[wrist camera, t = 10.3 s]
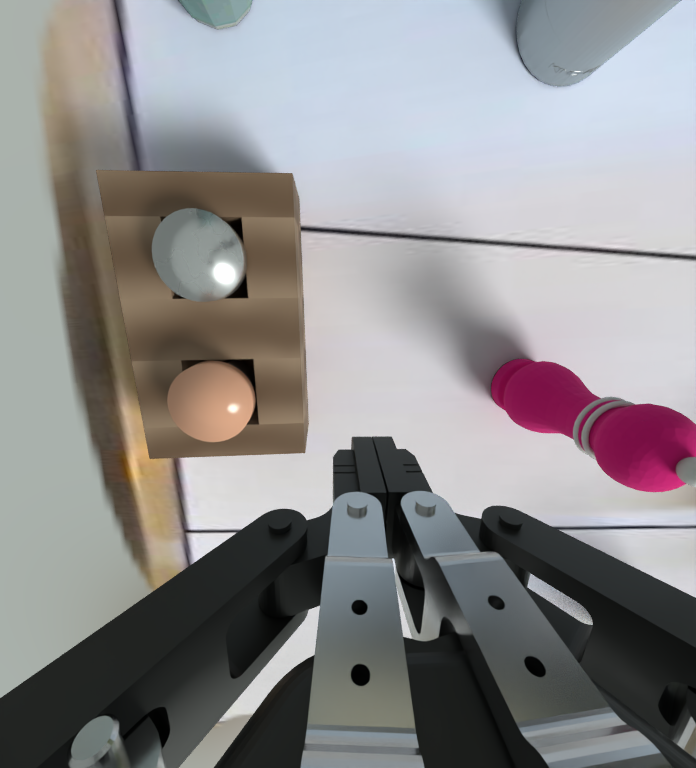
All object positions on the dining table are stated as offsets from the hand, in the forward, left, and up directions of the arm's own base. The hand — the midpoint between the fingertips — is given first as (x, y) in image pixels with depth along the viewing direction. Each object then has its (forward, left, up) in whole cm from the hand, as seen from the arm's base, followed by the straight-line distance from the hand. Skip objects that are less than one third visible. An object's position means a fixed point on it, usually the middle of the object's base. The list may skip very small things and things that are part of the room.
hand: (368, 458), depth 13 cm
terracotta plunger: (+2, -11, -21) cm, 24 cm away
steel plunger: (-9, -11, -22) cm, 26 cm away
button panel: (-3, -11, -24) cm, 26 cm away
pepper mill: (+4, +20, -24) cm, 32 cm away
